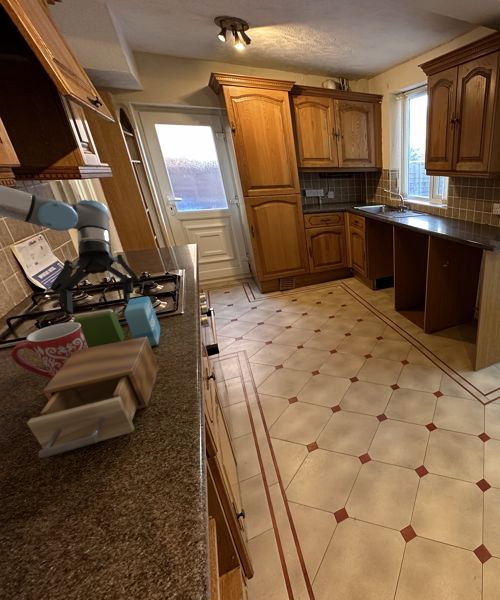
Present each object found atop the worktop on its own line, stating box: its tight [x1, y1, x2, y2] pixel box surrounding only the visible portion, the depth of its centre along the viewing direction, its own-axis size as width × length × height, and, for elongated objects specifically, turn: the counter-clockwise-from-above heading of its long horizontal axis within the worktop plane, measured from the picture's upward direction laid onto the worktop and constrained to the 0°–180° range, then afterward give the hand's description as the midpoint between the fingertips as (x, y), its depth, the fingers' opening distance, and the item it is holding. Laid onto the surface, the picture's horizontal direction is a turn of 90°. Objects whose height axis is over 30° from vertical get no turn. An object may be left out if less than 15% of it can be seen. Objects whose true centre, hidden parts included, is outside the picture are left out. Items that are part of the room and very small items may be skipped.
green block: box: [72, 308, 126, 348], centre depth 93 cm, size 4×8×10 cm, turn 117°
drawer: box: [26, 375, 139, 460], centre depth 62 cm, size 21×12×8 cm, turn 26°
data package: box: [123, 295, 161, 347], centre depth 94 cm, size 12×4×12 cm, turn 31°
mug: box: [10, 321, 88, 380], centre depth 76 cm, size 13×9×14 cm
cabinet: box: [42, 337, 160, 411], centre depth 72 cm, size 16×14×10 cm
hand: (98, 307), depth 94 cm, fingers open, 13 cm apart
